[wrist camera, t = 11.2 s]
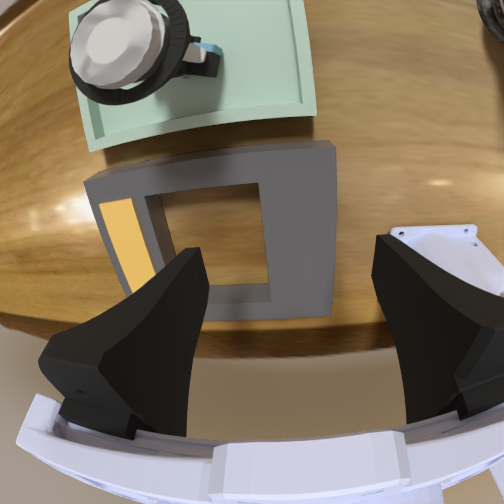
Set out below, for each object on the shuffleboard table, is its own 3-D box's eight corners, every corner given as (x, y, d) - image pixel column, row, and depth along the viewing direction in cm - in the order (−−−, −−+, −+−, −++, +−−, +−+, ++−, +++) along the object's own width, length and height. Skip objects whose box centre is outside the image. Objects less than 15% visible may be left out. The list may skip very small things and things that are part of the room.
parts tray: (291, -38, 11) (293, -49, 9) (312, 112, 17) (316, 115, 16) (83, 15, 13) (68, 12, 11) (103, 146, 19) (89, 152, 18)
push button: (128, 91, 17) (29, 111, 8) (140, 23, 14) (45, -2, 5) (218, 99, 17) (163, 112, 8) (233, 26, 14) (192, -28, 6)
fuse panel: (328, 140, 18) (336, 148, 16) (327, 296, 26) (331, 317, 23) (99, 171, 21) (81, 182, 18) (145, 302, 28) (136, 320, 26)
